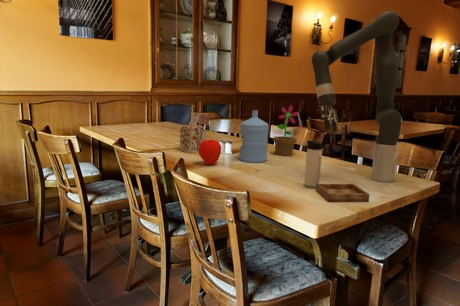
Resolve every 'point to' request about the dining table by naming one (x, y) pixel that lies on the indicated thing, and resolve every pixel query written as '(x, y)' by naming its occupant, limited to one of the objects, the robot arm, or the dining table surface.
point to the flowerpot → (282, 142)
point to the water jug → (254, 139)
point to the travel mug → (313, 164)
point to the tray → (342, 193)
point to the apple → (210, 151)
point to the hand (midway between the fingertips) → (331, 130)
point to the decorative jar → (191, 137)
